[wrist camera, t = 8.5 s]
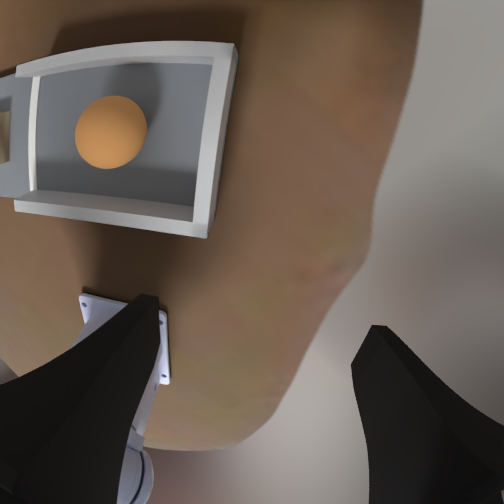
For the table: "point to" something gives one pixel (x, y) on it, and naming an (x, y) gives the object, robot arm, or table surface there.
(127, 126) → the ball
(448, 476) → the robot arm
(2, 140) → the frame
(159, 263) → the table surface
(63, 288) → the table surface
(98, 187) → the tray
